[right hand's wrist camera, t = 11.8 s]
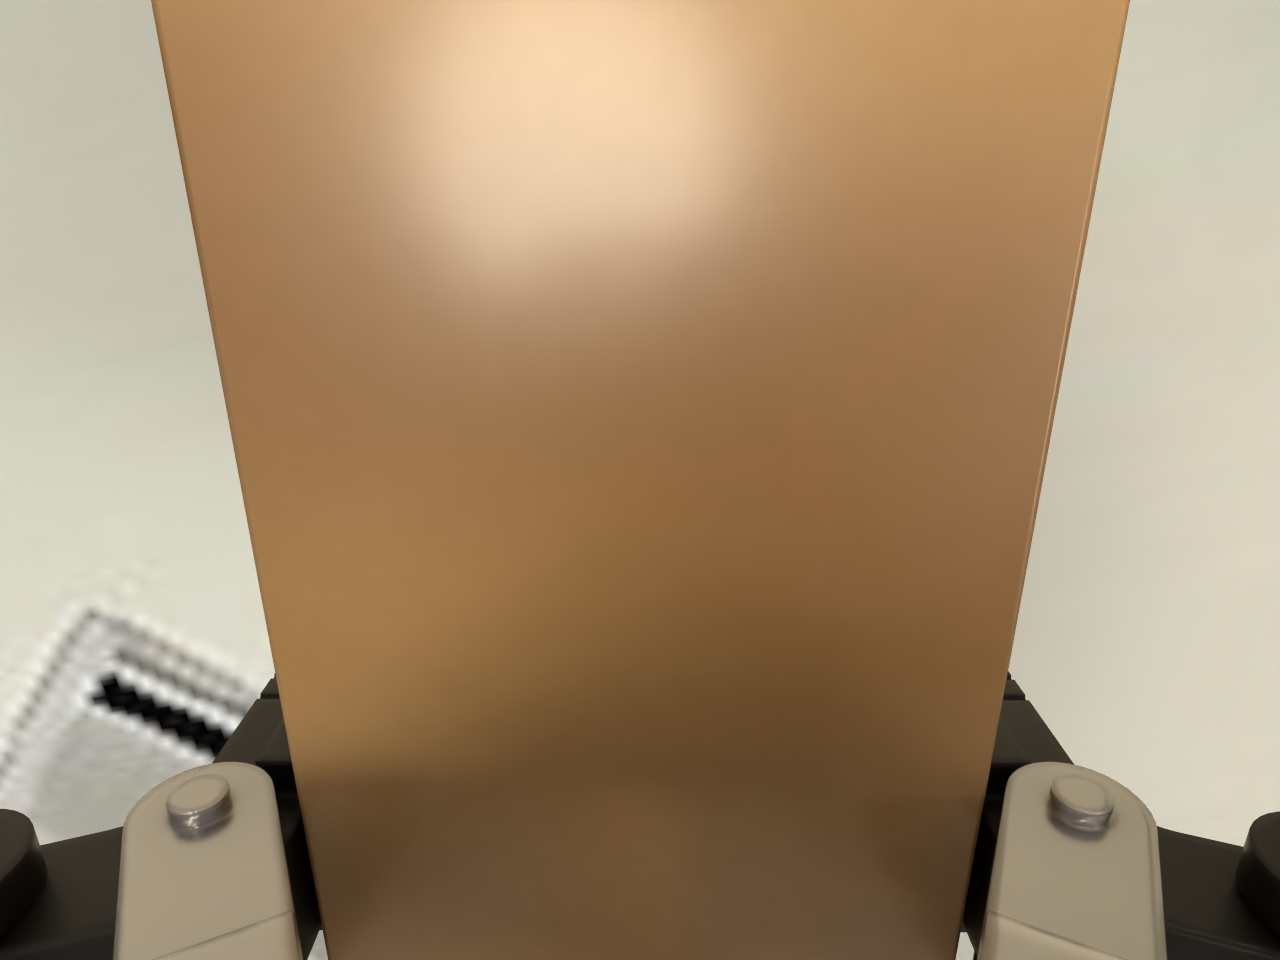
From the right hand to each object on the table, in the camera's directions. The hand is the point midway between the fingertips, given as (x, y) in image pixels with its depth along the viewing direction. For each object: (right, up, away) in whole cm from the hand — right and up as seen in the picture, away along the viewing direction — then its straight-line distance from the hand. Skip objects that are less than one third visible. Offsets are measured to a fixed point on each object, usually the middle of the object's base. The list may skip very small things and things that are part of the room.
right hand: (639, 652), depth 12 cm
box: (0, +13, +3) cm, 13 cm away
